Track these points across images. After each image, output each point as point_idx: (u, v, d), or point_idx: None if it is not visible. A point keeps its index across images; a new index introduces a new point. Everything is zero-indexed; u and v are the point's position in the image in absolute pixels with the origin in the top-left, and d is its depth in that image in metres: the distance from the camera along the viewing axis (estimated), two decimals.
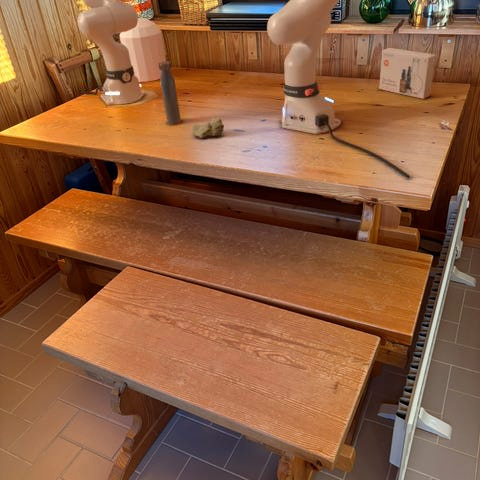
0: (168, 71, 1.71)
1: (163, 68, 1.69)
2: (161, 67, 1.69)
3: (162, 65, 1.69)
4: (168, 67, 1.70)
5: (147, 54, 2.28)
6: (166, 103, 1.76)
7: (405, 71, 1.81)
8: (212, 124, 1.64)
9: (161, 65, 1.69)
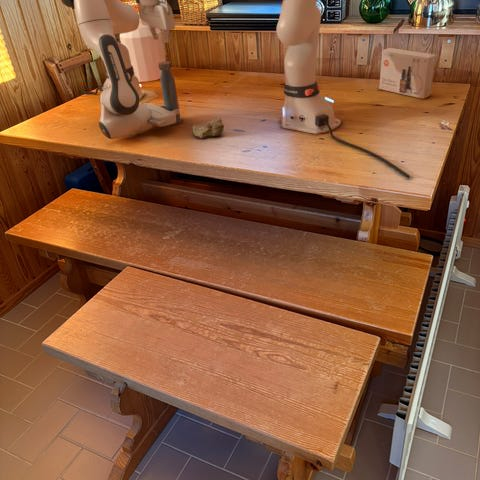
0: (168, 71, 1.71)
1: (163, 68, 1.69)
2: (161, 67, 1.69)
3: (162, 65, 1.69)
4: (168, 67, 1.70)
5: (147, 54, 2.28)
6: (166, 103, 1.76)
7: (405, 71, 1.81)
8: (212, 124, 1.64)
9: (161, 65, 1.69)
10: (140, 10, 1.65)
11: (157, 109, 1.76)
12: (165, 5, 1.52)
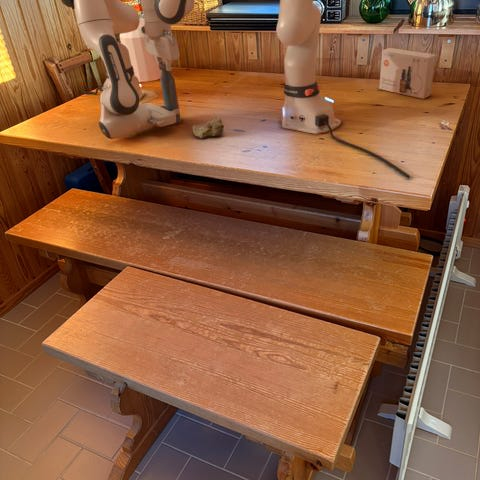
0: (168, 71, 1.71)
1: (163, 68, 1.69)
2: (161, 67, 1.69)
3: (162, 65, 1.69)
4: None
5: (147, 54, 2.28)
6: (166, 103, 1.76)
7: (405, 71, 1.81)
8: (212, 124, 1.64)
9: (161, 65, 1.69)
10: (145, 39, 1.71)
11: (157, 109, 1.76)
12: (170, 37, 1.58)
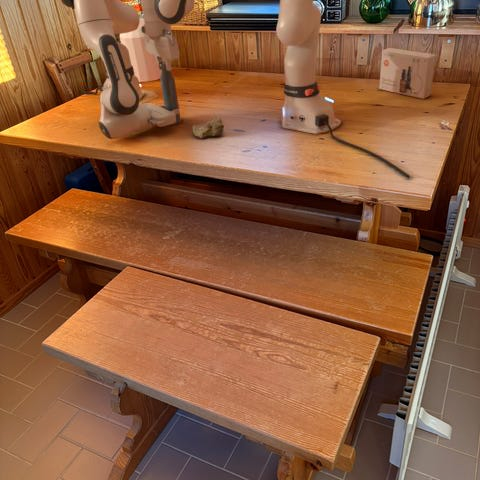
0: (168, 71, 1.71)
1: None
2: None
3: None
4: None
5: (147, 54, 2.28)
6: (166, 103, 1.76)
7: (405, 71, 1.81)
8: (212, 124, 1.64)
9: None
10: (145, 39, 1.71)
11: (157, 109, 1.76)
12: (170, 37, 1.58)
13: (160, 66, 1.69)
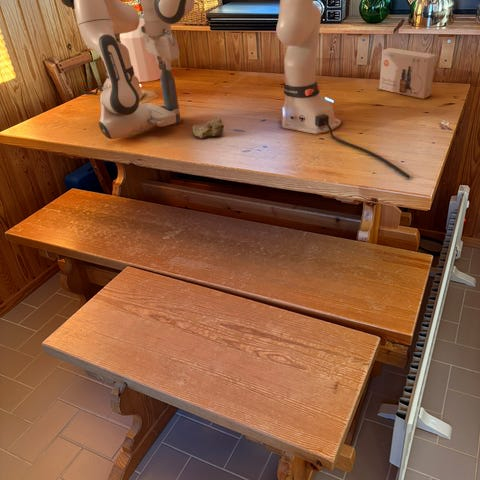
0: (168, 71, 1.71)
1: None
2: None
3: None
4: None
5: (147, 54, 2.28)
6: (166, 103, 1.76)
7: (405, 71, 1.81)
8: (212, 124, 1.64)
9: None
10: (145, 39, 1.71)
11: (157, 109, 1.76)
12: (170, 36, 1.58)
13: None
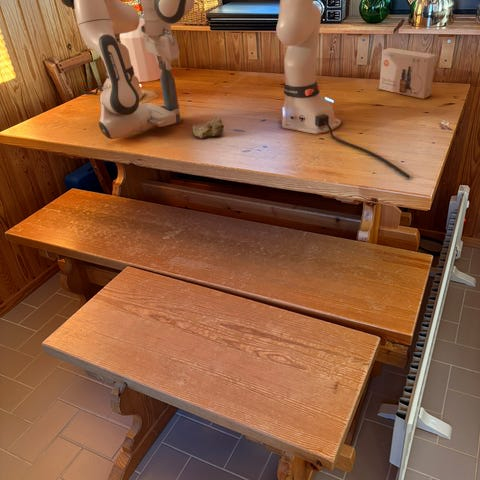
0: (168, 71, 1.71)
1: None
2: None
3: None
4: (160, 67, 1.70)
5: (147, 54, 2.28)
6: (166, 103, 1.76)
7: (405, 71, 1.81)
8: (212, 124, 1.64)
9: None
10: (145, 38, 1.70)
11: (157, 109, 1.76)
12: (170, 36, 1.58)
13: None
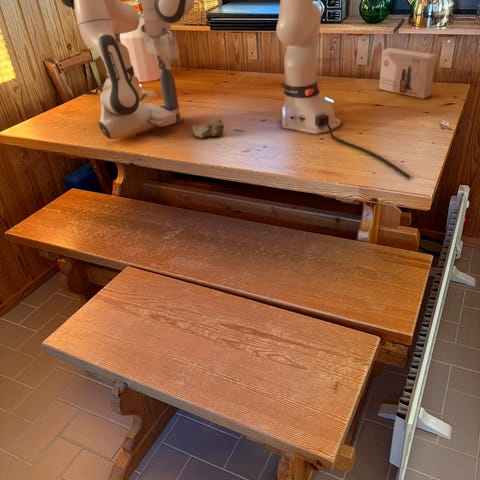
0: (168, 71, 1.71)
1: (162, 67, 1.69)
2: (160, 66, 1.69)
3: (161, 64, 1.69)
4: None
5: (147, 54, 2.28)
6: (166, 103, 1.76)
7: (405, 71, 1.81)
8: (212, 124, 1.64)
9: (160, 64, 1.69)
10: (145, 38, 1.70)
11: (157, 109, 1.76)
12: (170, 36, 1.58)
13: None
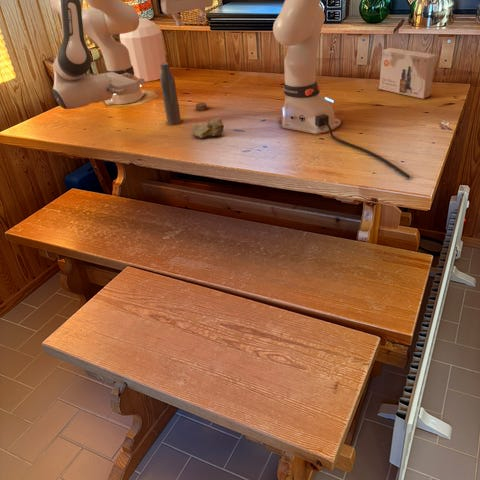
0: (168, 71, 1.71)
1: (206, 107, 1.92)
2: (205, 107, 1.92)
3: (205, 105, 1.92)
4: None
5: (147, 54, 2.28)
6: (166, 103, 1.76)
7: (405, 71, 1.81)
8: (212, 124, 1.64)
9: (205, 105, 1.91)
10: None
11: (118, 77, 1.62)
12: None
13: (197, 107, 1.91)
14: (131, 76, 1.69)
